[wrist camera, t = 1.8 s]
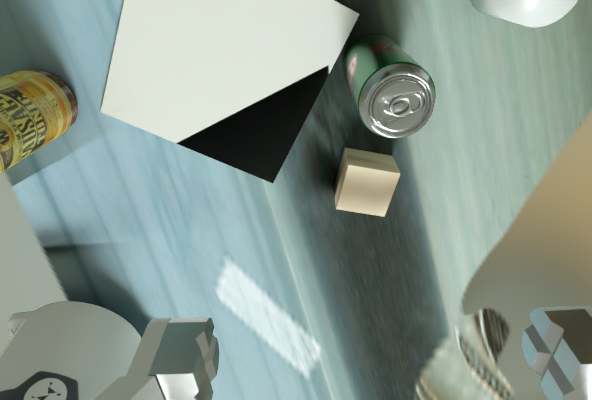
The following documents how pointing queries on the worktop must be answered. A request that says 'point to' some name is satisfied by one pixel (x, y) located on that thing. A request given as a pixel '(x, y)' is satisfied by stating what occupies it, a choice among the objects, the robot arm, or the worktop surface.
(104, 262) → the worktop surface
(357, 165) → the birch block
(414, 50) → the worktop surface
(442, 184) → the worktop surface
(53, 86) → the sauce bottle
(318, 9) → the mat
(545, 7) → the grey cylinder
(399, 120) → the soda can
